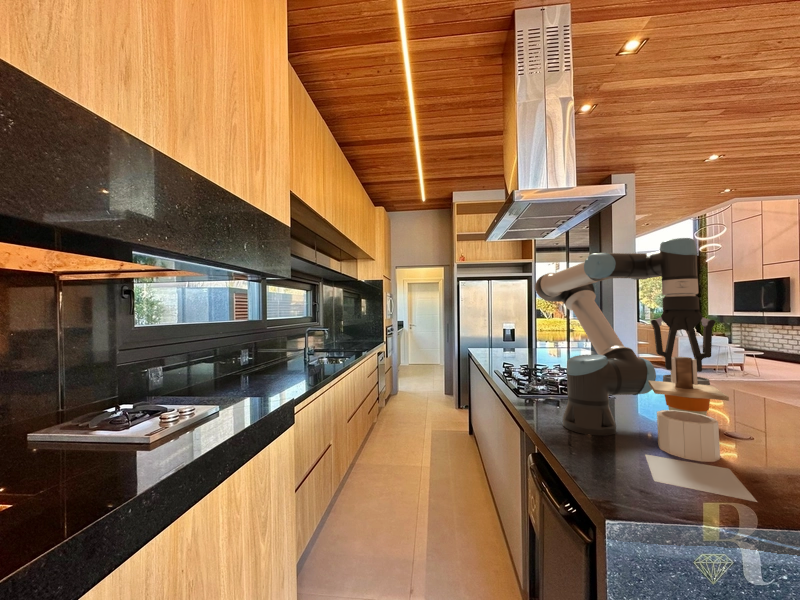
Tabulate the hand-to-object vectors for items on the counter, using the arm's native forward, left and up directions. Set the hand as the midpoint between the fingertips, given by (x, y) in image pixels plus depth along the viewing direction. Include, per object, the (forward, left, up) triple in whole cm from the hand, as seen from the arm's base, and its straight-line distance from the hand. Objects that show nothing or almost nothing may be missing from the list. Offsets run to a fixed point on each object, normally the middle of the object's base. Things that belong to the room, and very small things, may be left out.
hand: (683, 382), depth 88 cm
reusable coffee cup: (+6, +33, -19) cm, 39 cm away
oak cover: (0, 0, -2) cm, 2 cm away
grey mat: (-2, -16, -18) cm, 24 cm away
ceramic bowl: (0, 0, -18) cm, 18 cm away
